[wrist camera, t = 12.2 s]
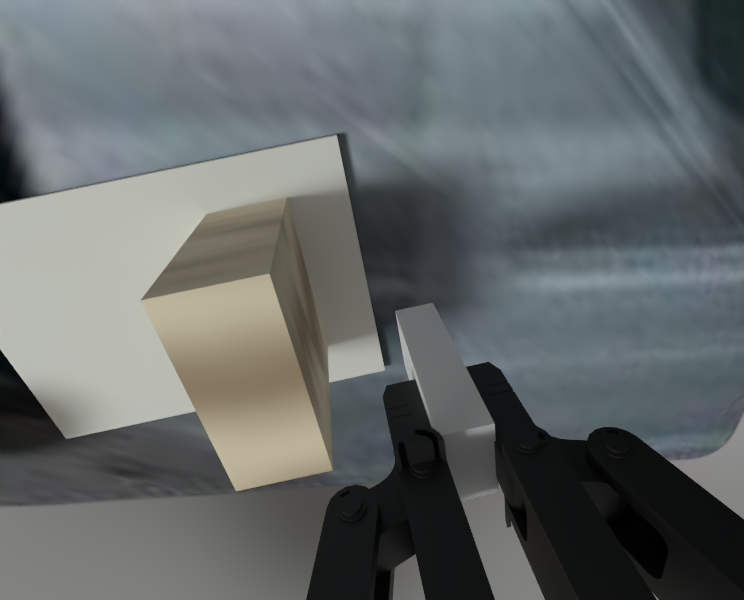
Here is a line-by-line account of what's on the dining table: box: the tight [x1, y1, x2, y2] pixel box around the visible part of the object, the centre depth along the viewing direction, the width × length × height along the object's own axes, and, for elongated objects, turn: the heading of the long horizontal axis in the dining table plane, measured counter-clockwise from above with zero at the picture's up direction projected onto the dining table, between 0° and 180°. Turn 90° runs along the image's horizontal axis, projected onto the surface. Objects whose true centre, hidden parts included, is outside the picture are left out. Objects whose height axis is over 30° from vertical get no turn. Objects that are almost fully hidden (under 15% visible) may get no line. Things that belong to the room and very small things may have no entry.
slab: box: [140, 198, 333, 491], centre depth 19 cm, size 9×4×9 cm, turn 10°
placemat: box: [0, 134, 385, 439], centre depth 23 cm, size 20×14×1 cm
